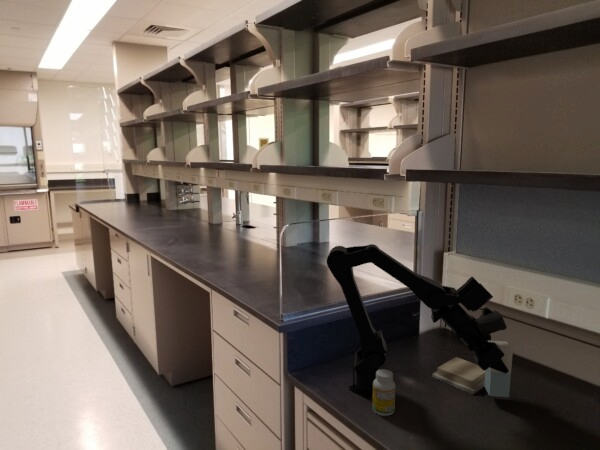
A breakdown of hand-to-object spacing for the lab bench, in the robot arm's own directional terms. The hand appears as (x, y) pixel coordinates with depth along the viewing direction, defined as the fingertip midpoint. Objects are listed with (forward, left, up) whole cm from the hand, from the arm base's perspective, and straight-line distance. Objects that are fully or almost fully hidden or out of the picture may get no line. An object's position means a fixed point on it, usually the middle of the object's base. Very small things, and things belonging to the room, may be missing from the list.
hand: (504, 367), depth 107 cm
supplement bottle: (-17, -26, -9) cm, 32 cm away
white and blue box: (-1, -1, -7) cm, 7 cm away
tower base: (-12, +3, -9) cm, 15 cm away
